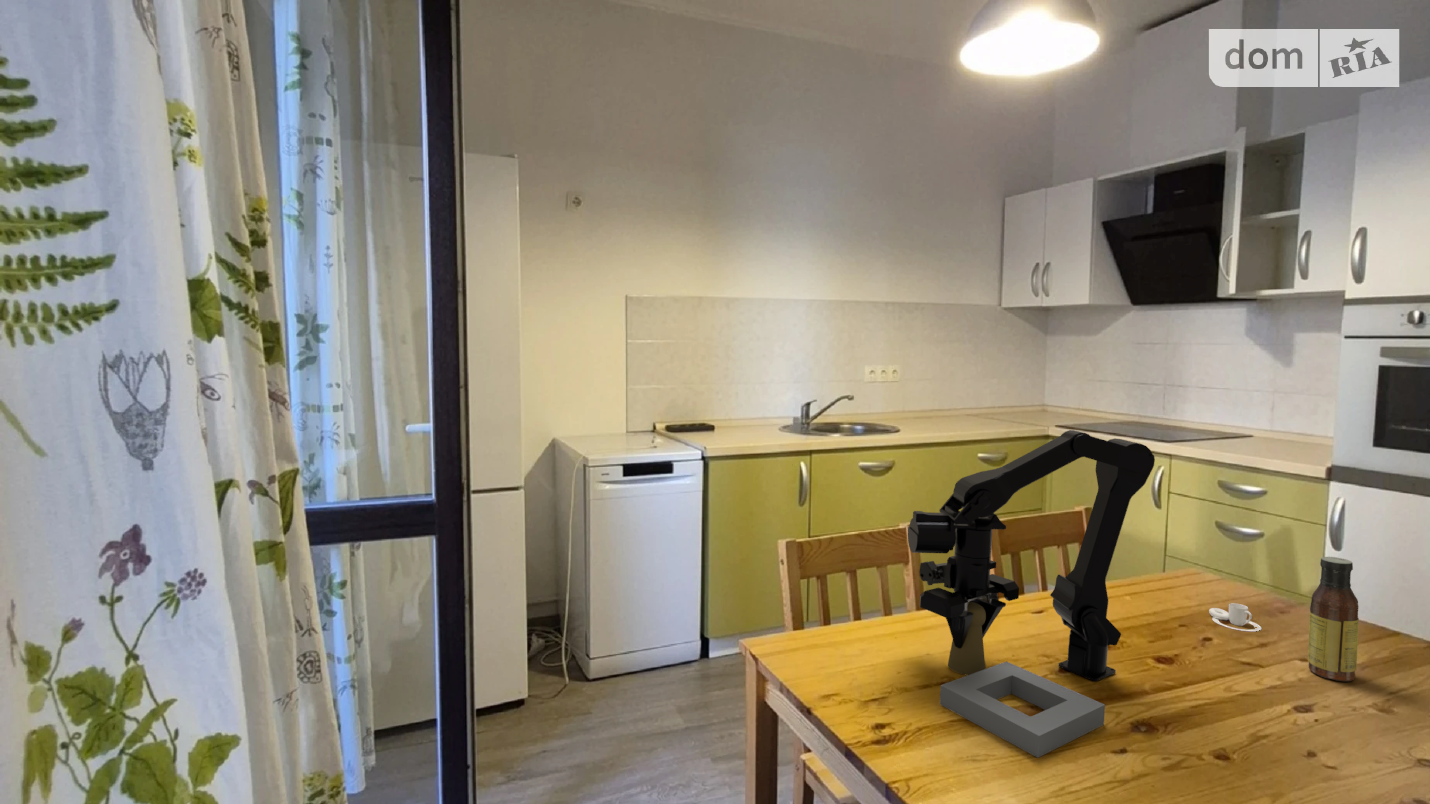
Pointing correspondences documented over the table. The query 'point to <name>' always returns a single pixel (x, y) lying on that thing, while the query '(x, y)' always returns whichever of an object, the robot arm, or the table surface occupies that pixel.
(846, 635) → the table surface
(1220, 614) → the teacup and saucer
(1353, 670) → the sauce bottle
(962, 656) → the brown pawn
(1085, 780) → the table surface
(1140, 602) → the table surface
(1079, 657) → the robot arm
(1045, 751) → the socket plate
